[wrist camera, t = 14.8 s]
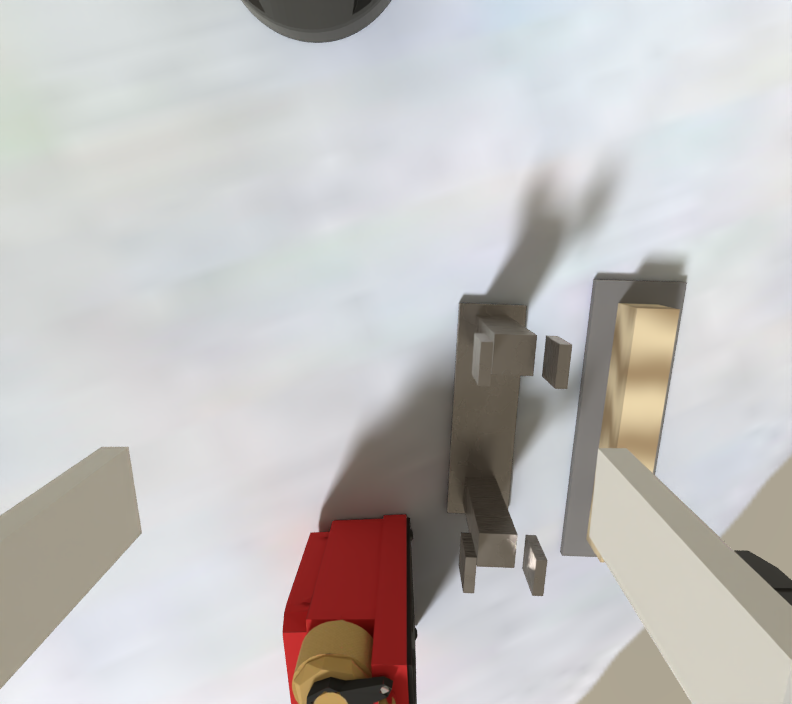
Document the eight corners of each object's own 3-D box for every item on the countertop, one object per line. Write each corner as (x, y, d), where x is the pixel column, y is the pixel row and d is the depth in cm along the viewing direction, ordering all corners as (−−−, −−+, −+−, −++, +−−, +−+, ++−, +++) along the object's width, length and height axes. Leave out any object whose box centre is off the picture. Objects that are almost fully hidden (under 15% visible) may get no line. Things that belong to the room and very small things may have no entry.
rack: (458, 302, 43) (481, 326, 30) (524, 304, 43) (574, 329, 30) (446, 508, 47) (461, 604, 35) (505, 510, 47) (542, 607, 35)
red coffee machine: (313, 512, 48) (249, 695, 28) (411, 509, 47) (416, 692, 28) (325, 640, 51) (276, 882, 32) (417, 638, 51) (425, 881, 31)
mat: (593, 279, 42) (596, 279, 41) (682, 282, 42) (686, 282, 41) (560, 551, 48) (562, 555, 48) (637, 554, 48) (640, 558, 47)
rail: (618, 303, 42) (637, 308, 38) (657, 304, 42) (679, 309, 38) (586, 539, 47) (600, 562, 44) (621, 540, 47) (637, 563, 44)
